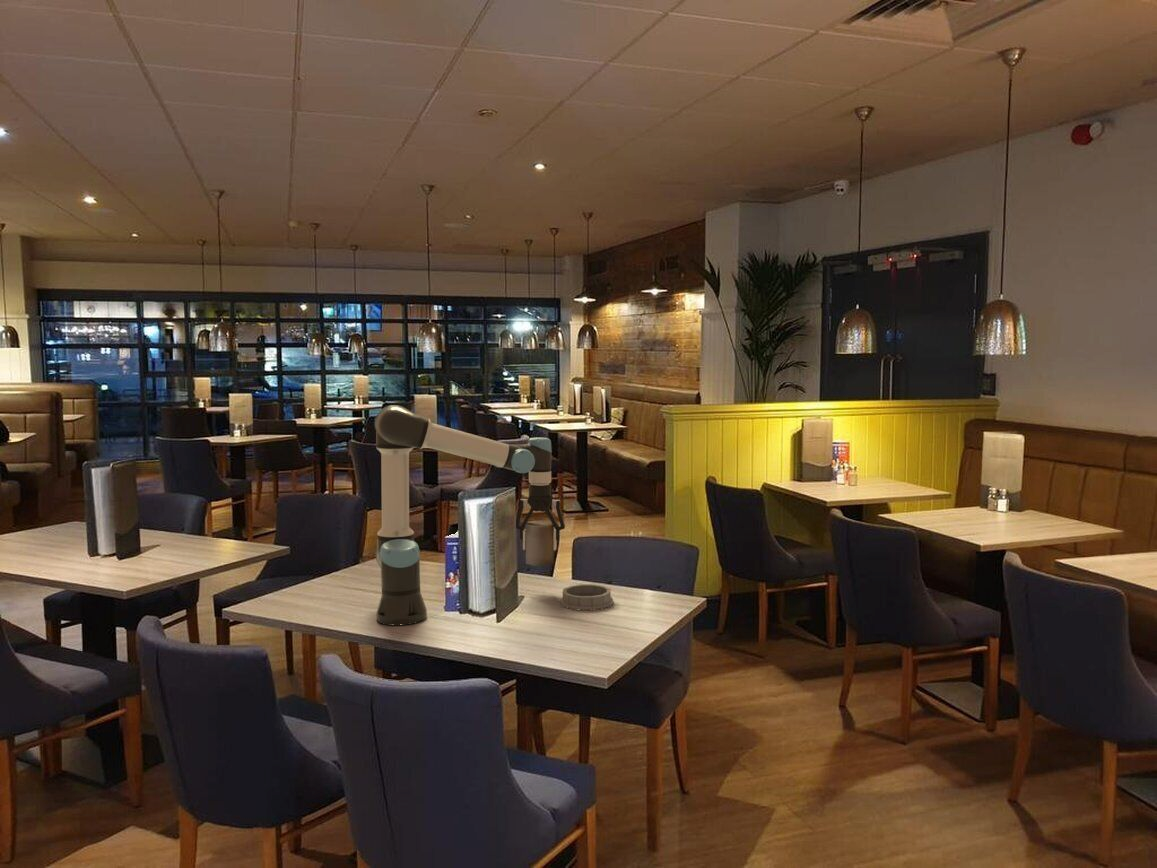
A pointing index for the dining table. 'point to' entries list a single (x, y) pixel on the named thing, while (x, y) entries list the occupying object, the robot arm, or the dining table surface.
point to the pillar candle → (539, 543)
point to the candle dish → (586, 597)
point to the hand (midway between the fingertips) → (539, 549)
